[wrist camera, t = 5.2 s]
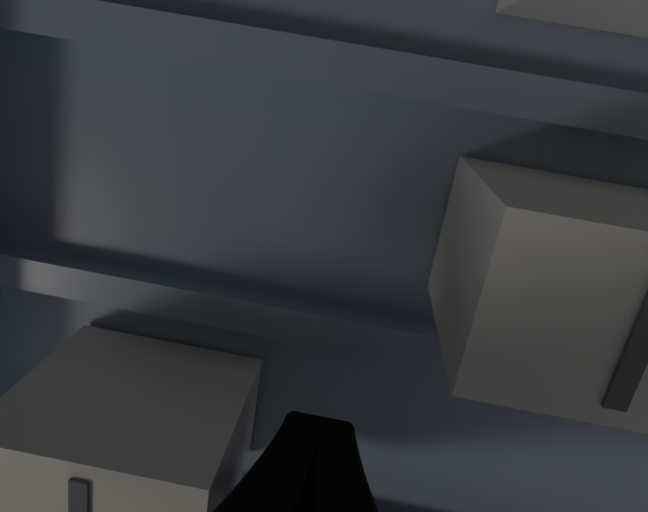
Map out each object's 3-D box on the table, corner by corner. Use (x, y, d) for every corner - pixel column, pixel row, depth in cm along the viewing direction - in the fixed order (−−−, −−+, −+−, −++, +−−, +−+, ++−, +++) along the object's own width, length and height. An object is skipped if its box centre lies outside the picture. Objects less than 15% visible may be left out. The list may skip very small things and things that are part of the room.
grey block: (249, 455, 12) (194, 615, 9) (83, 421, 12) (-37, 565, 9) (262, 359, 11) (207, 493, 8) (84, 325, 12) (-50, 441, 8)
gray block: (630, 323, 10) (764, 459, 7) (427, 285, 10) (453, 399, 7) (681, 195, 9) (868, 272, 6) (459, 155, 10) (508, 207, 6)
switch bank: (663, 571, 14) (745, 716, 11) (6, 436, 15) (-95, 535, 12) (1085, -234, 8) (1527, -424, 5) (-42, -392, 9) (-274, -643, 6)
